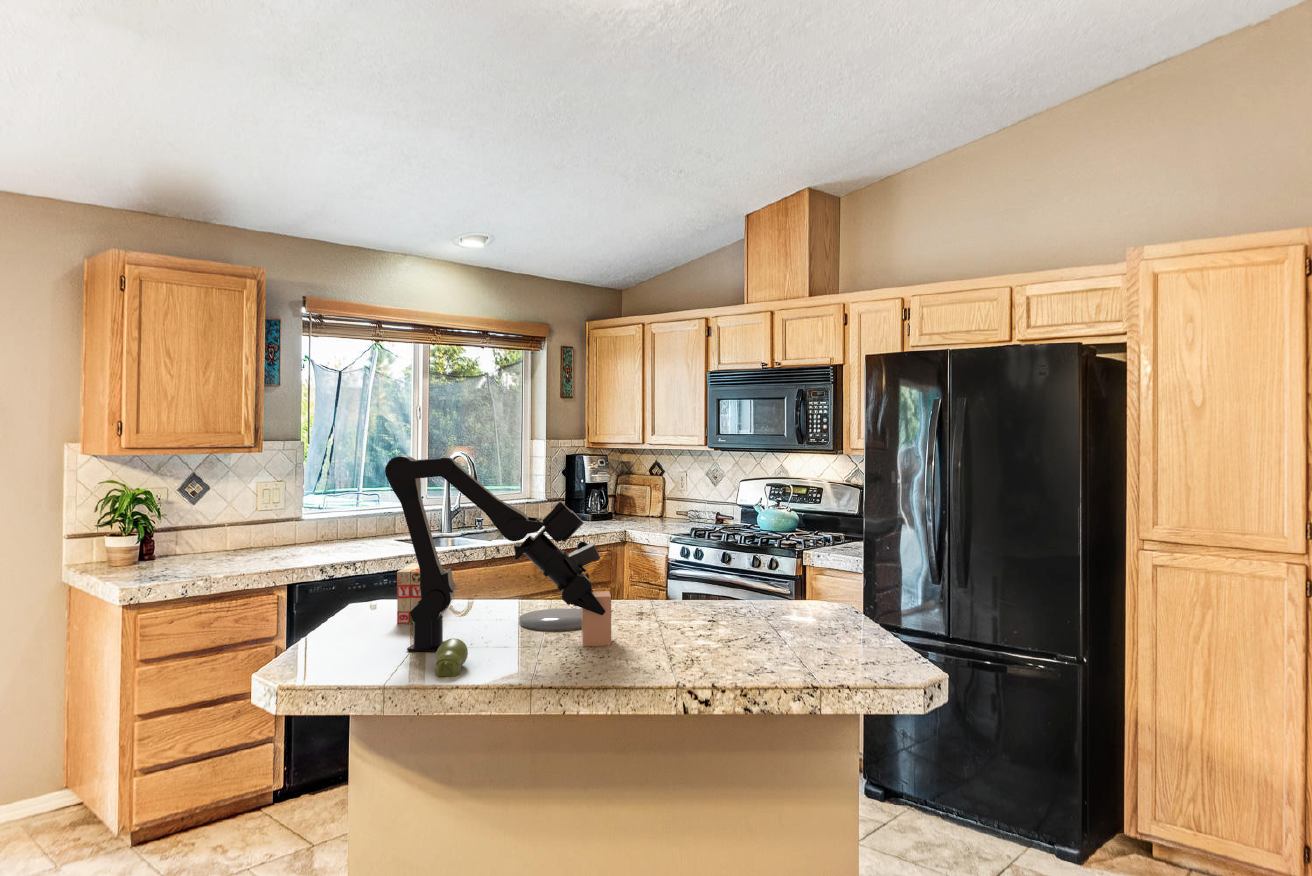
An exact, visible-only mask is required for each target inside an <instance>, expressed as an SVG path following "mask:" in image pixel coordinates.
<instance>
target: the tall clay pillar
mask: <svg viewBox="0 0 1312 876" xmlns="http://www.w3.org/2000/svg"><path fill="white" fill-rule="evenodd" d="M592 593H593V594H594V596H595V597H596V598H597V600H598V601H599V603H600V604H601V605H602V607H603V608H604V610H605V613H604V614H603V615H599V614H597V613H594V612H592V611H589V610H586V609H584V608H581V610H582V629H581V644H582V647H596V646H597V647H602V646H605V647H606V646H612V595H611V593H610V591H609V590H606V591H604V590H603V591H601V590H600V591H594V592H592Z"/></svg>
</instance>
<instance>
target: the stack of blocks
mask: <svg viewBox="0 0 1312 876" xmlns="http://www.w3.org/2000/svg"><path fill="white" fill-rule="evenodd" d="M443 569H444V570H445V571H446V570H447V569H445V568H443ZM396 582H397V584H396V599H397V600H396V601H397V603H396V604H397V607H396V608H397V610H396V623H397V625H410V624H409V623H413V620H412V617H411V615H410V612H411V610H412V609H413V608H414V607H415V605H416V604H417V603H418V602H419V601H420V600H421V591H420V568H419V565H418V562H412V563H410V564H408V565H406V566H405V567H403V568H402V569H399V570H398V571H397V572H396ZM406 623H407V624H406Z"/></svg>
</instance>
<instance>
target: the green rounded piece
mask: <svg viewBox="0 0 1312 876" xmlns="http://www.w3.org/2000/svg"><path fill="white" fill-rule="evenodd" d="M443 641H444V642H443V643H442V644H441V645H440V646H439V648H438V650H437V651H435V653H436V654H435V658H436V661H435V668H434V673H435V675H436V677H437V676H438V677H439V678H441V677H444V678H451V677H457V676H458V675H460V673H461V670H462V669H461V667H462V665H464V664H465V663H466V661H467V659H468V654H469V652H468V647H467V644H466V643H465V642H464V641H463V640H461V639H460V638H449V639H447V640H443ZM438 677H437V678H438Z"/></svg>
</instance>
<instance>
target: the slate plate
mask: <svg viewBox="0 0 1312 876" xmlns="http://www.w3.org/2000/svg"><path fill="white" fill-rule="evenodd" d="M518 619H519V620H518V622H519V623H518V624H519V625H520V627H523V628H525V629H529V630H534V631H544V632H546V631H547V632H561V631H563V632H564V631H576V630H582V608H581V609H579V608H548V609H539V610H538V609H537V610H533V611H529V612H526V613H523V614H521V615H520V616H519V617H518Z"/></svg>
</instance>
